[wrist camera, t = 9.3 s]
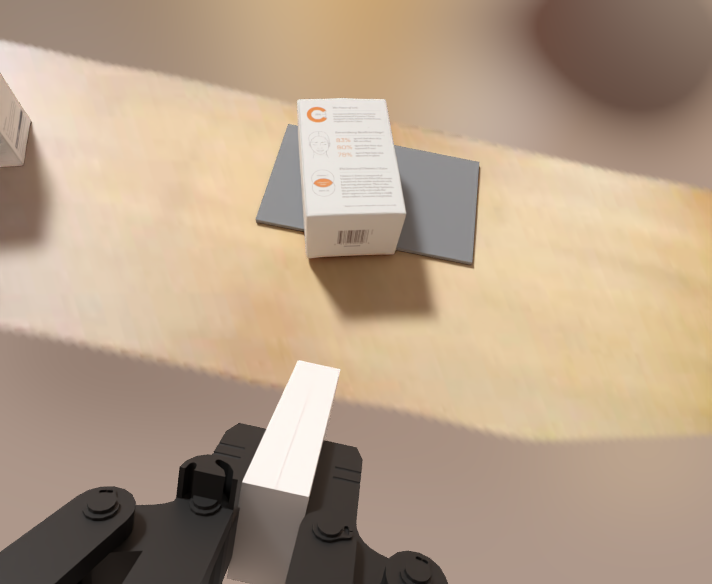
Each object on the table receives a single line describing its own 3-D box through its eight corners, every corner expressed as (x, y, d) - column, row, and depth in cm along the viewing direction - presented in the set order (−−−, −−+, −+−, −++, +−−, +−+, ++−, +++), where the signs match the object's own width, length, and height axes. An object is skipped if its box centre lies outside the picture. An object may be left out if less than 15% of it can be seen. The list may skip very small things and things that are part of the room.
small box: (395, 256, 44) (377, 147, 50) (408, 214, 38) (387, 96, 44) (304, 260, 43) (297, 148, 49) (304, 216, 37) (296, 96, 43)
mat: (477, 164, 50) (479, 162, 50) (470, 264, 44) (472, 262, 44) (288, 127, 50) (288, 124, 50) (255, 221, 44) (255, 219, 44)
